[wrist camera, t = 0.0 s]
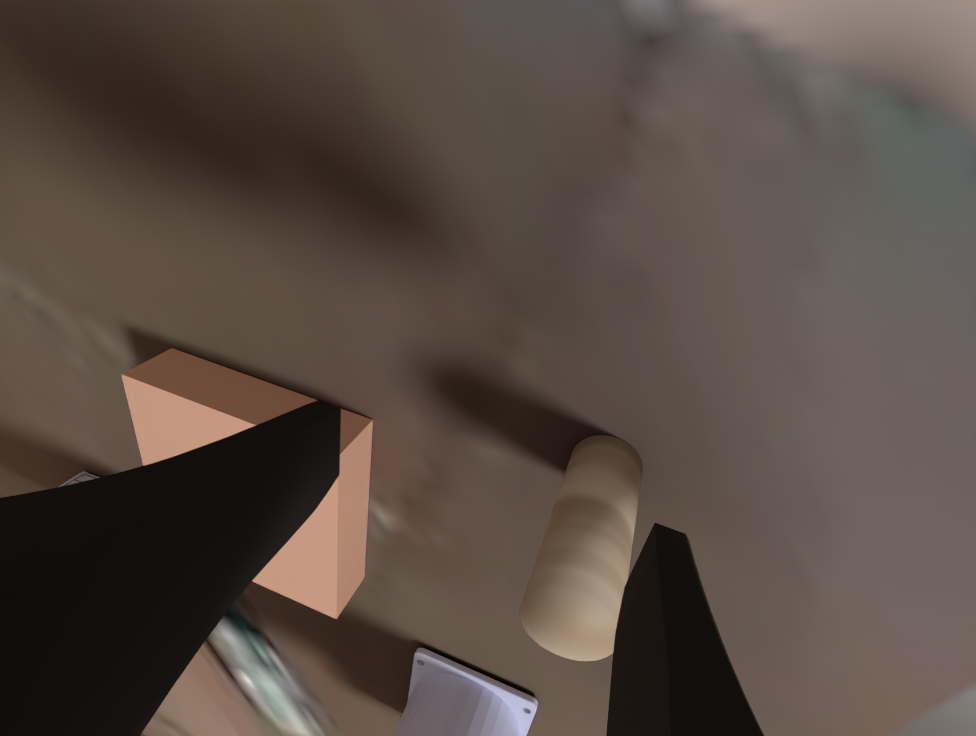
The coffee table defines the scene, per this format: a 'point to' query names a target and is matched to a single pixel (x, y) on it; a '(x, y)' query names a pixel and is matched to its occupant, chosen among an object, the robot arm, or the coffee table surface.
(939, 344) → the coffee table surface
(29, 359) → the coffee table surface
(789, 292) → the coffee table surface
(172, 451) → the socket block
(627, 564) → the peg
